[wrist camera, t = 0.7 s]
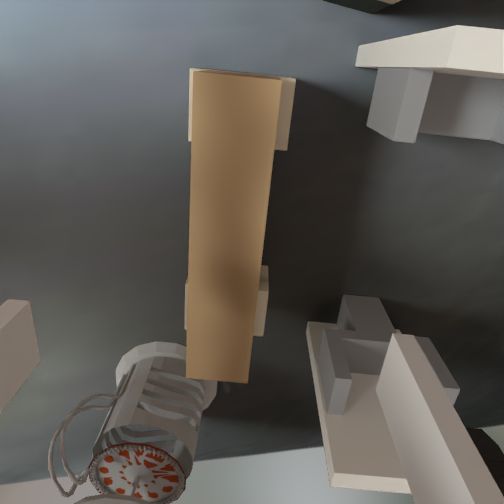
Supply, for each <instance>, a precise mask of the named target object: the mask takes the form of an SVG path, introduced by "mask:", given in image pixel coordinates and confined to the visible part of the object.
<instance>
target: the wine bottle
mask: <svg viewBox="0 0 504 504" xmlns="http://www.w3.org/2000/svg"><path fill="white" fill-rule="evenodd" d="M323 1H327V2H331V3H334V4H338V5H342V6H345V7H349V8H353V9H356V10H360V11H363V12H367V13H371V14H373V13H376V12H378V11H380V10H382V9H384V8H386V7H388V6H390V5H392V4H395V3H397V2H399V1H401V0H323Z"/></svg>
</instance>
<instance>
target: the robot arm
mask: <svg viewBox="0 0 504 504" xmlns="http://www.w3.org/2000/svg"><path fill="white" fill-rule="evenodd" d="M39 362H40V356H39V350H38V345H37V339H36V334H35V328H34V323H33V317H32V312H31V307H30V301H25V300H14V299H7V300H6V301H5V302H4V303H3V304H2V305H1V306H0V414H1V413H2V411H3V410H4V409H5V407H6V406H7V405H8V403H9V402H10V401H11V399H12V398H13V397H14V395H15V394H16V393H17V391H18V390H19V389H20V387H21V386H22V385H23V383H24V382H25V381H26V379H27V378H28V377H29V375H30V374H31V373H32V372H33V370H34V369H35V368H36V366H37V365H38V364H39ZM376 393H377V396H378V399H379V401H380V404H381V407H382V410H383V413H384V416H385V419H386V422H387V425H388V427H389V430H390V433H391V436H392V439H393V442H394V445H395V448H396V451H397V453H398V456H399V459H400V462H401V465H402V468H403V471H404V474H405V477H406V479H407V482H408V485H409V488H410V491H411V494H412V497H413V500H414V503H415V504H504V454H503V452H502V451H501V449H500V447H499V446H498V445H497V444H496V443H495V442H494V441H493V440H492V439H491V438H490V437H489V436H488V435H487V434H486V433H485V432H484V431H483V430H482V429H474V428H465V427H464V425H463V423H462V421H461V420H460V418H459V416H458V414H457V412H456V411H455V409H454V407H453V405H452V403H451V402H450V400H449V398H448V396H447V394H446V393H445V391H444V389H443V387H442V385H441V384H440V382H439V380H438V378H437V376H436V375H435V373H434V371H433V369H432V367H431V366H430V364H429V362H428V360H427V359H426V357H425V355H424V353H423V351H422V350H421V348H420V346H419V344H418V342H417V341H416V339H415V337H414V335H407V334H396V333H392V337H391V340H390V343H389V347H388V350H387V353H386V357H385V360H384V363H383V367H382V370H381V373H380V377H379V380H378V383H377V387H376Z"/></svg>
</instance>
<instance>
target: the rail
mask: <svg viewBox="0 0 504 504" xmlns="http://www.w3.org/2000/svg"><path fill="white" fill-rule="evenodd" d="M281 87H282V80H281V79H280V78H279V77H270V76H260V75H250V74H240V73H231V72H221V71H211V70H204V71H193V99H192V140H191V181H190V222H189V263H188V304H187V345H186V378H192V379H204V380H215V381H226V382H237V383H248V375H249V367H250V358H251V349H252V340H253V332H254V323H255V314H256V305H257V297H258V288H259V279H260V270H261V262H262V253H263V244H264V235H265V227H266V218H267V209H268V200H269V192H270V183H271V174H272V165H273V157H274V148H275V139H276V130H277V122H278V113H279V104H280V95H281Z"/></svg>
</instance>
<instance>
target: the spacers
mask: <svg viewBox="0 0 504 504" xmlns="http://www.w3.org/2000/svg"><path fill="white" fill-rule="evenodd" d="M204 70H211V71H221V72H231V73H240V74H250V75H260V76H270V77H279V78H280V79H281V80H282V87H281V95H280V104H279V113H278V122H277V130H276V139H275V148H274V150H284V151H287V146H288V138H289V130H290V122H291V114H292V107H293V99H294V91H295V83H296V79H295V78H292V77H284V76H274V75H264V74H255V73H245V72H235V71H225V70H215V69H205V68H190V83H189V130H188V141H191V140H192V99H193V71H204ZM268 294H269V278H268V266H265V265H261V270H260V279H259V288H258V297H257V305H256V314H255V323H254V332H253V336H263V333H264V325H265V317H266V310H267V302H268ZM187 304H188V278H187V280H186V283H185V321H184V329H186V330H187Z"/></svg>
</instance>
